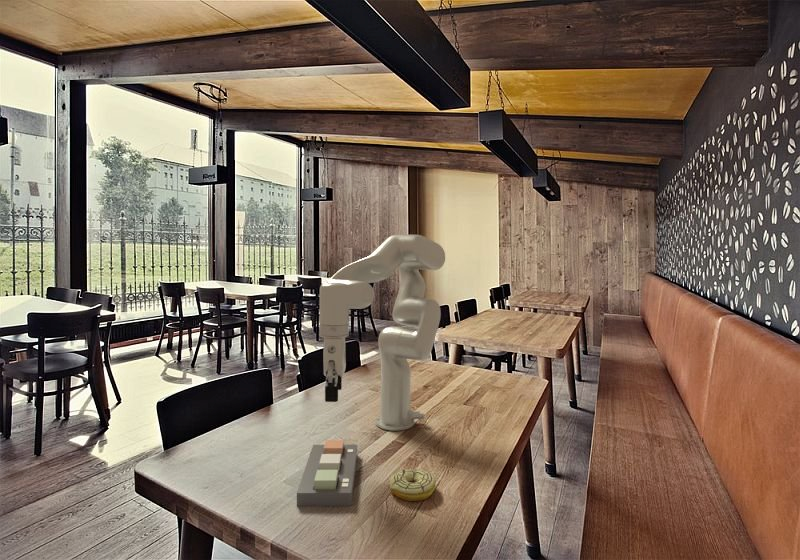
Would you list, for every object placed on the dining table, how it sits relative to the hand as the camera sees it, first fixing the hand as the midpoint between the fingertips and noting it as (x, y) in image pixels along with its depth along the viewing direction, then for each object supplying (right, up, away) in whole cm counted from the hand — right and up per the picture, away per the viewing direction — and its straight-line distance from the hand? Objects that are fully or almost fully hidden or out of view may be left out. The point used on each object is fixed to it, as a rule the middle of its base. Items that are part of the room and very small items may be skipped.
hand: (333, 395), depth 118 cm
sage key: (+1, -17, -15) cm, 23 cm away
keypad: (0, -19, -7) cm, 20 cm away
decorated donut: (+20, -20, -12) cm, 31 cm away
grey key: (0, -17, -7) cm, 18 cm away
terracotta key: (0, -16, +1) cm, 16 cm away
